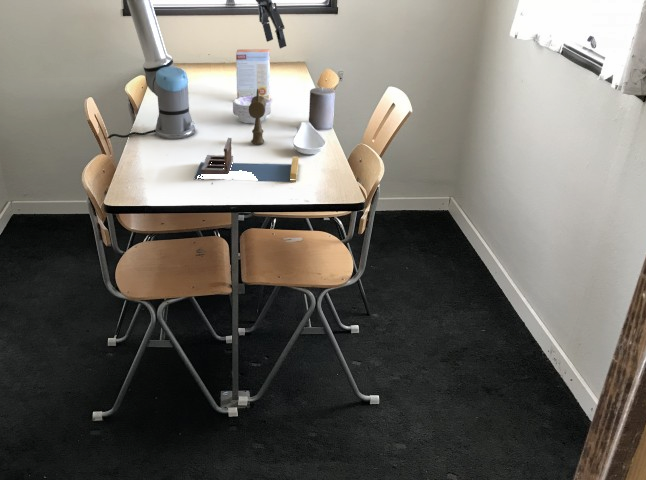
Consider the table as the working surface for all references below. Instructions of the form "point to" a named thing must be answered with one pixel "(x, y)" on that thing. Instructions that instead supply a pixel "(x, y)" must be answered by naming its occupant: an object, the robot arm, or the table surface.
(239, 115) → the paper bowls
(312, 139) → the spoon rest
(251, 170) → the runner mat
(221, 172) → the rack
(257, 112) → the kendama
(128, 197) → the table surface
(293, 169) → the rail
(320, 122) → the pillar candle
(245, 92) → the cracker box
